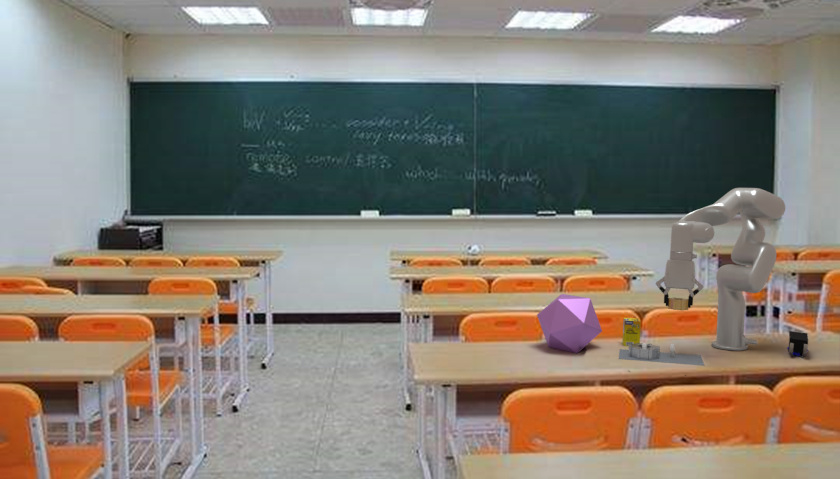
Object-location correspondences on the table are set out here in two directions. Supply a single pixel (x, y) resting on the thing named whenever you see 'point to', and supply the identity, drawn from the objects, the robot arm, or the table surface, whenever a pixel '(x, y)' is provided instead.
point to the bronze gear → (678, 303)
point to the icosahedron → (569, 323)
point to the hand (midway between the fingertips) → (677, 306)
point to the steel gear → (644, 351)
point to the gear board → (667, 357)
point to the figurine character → (798, 343)
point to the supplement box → (631, 331)
